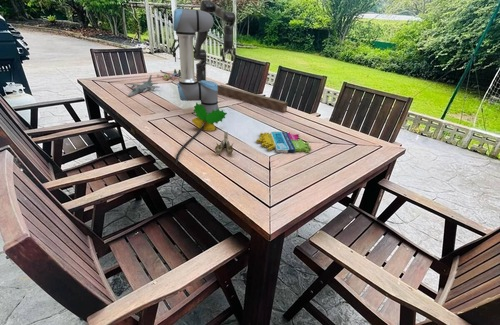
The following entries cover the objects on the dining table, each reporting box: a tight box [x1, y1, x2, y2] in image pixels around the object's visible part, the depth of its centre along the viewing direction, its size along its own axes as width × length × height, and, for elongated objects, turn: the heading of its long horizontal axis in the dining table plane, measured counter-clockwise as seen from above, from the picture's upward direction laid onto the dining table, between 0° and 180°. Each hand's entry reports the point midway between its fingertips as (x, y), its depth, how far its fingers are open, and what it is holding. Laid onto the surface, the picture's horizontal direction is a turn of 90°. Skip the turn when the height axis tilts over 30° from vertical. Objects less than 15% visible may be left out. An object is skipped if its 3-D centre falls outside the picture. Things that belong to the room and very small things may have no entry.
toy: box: [155, 68, 181, 81], centre depth 281 cm, size 28×7×30 cm
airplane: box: [127, 74, 159, 97], centre depth 228 cm, size 38×32×10 cm
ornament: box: [191, 101, 228, 132], centre depth 162 cm, size 21×8×15 cm, turn 105°
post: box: [217, 84, 288, 114], centre depth 220 cm, size 71×5×7 cm, turn 51°
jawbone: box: [214, 131, 234, 156], centre depth 136 cm, size 9×15×10 cm
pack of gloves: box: [256, 131, 312, 154], centre depth 152 cm, size 26×2×30 cm
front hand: (184, 61), depth 211 cm, fingers open, 13 cm apart
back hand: (227, 61), depth 220 cm, fingers open, 8 cm apart
